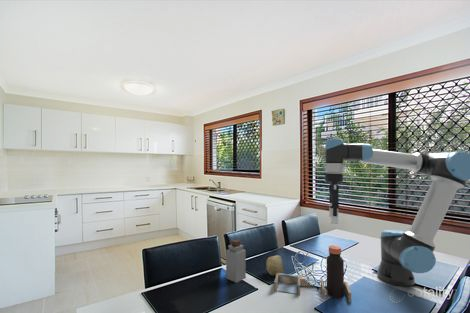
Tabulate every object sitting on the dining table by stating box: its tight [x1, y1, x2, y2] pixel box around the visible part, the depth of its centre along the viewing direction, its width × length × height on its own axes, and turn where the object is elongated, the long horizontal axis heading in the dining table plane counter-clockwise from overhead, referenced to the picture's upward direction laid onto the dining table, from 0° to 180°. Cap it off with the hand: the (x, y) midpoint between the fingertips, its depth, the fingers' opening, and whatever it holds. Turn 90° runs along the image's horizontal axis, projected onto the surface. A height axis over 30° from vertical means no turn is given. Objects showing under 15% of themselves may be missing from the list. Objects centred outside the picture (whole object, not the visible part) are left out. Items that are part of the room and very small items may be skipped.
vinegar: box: [326, 244, 345, 299], centre depth 105 cm, size 7×7×20 cm
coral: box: [265, 255, 285, 277], centre depth 124 cm, size 10×10×10 cm
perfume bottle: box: [225, 239, 247, 284], centre depth 120 cm, size 7×7×18 cm
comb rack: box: [273, 273, 352, 303], centre depth 108 cm, size 31×10×4 cm, turn 75°
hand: (333, 220), depth 110 cm, fingers open, 13 cm apart
